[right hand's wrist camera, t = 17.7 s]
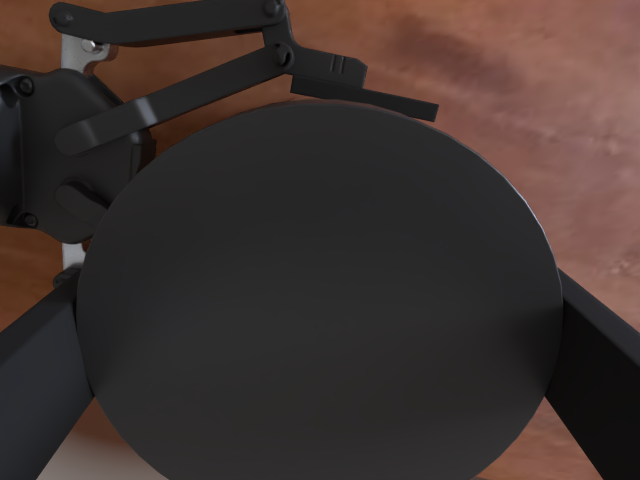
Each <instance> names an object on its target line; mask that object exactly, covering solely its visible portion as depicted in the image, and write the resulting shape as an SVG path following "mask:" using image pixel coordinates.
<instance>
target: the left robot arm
mask: <svg viewBox="0 0 640 480" xmlns="http://www.w3.org/2000/svg"><path fill="white" fill-rule="evenodd" d="M49 19H50V22H51V24H52V26H53V27H54V28H55V29H56V30H57V31H58V32H60V33H62V50H61V68H60V69H56V70H54V71H51V72H48V73H40V72H35V71H30V70H25V69H20V68H15V67H10V66H5V65H0V225H2V226H8V227H17V228H31V229H37V230H40V231H43V232H45V233H47V234H49V235H50V236H52V237H53V238H55V239H56V240H58V241H60V242H62V253H63V271H62V272H61V273H59V274H58V275H57V276H55V278H54V279H53V286H54V288H55V289H56V288H57V287H58V286H59V285H61V284H62V283H63V282H64V281H66V280H67V279H68V278H69V277H71V276H72V275H73V274H74V273H76V272H77V271H78V270H79V269H81V268H82V266H83V262H84V258H85V254H86V252H87V249H88V247H89V245H90V242H91V241H90V239H91V238H93V235H94V233H95V231H96V228H97V226H98V225H99V223H100V221H101V220H102V218H103V217H104V215H105V213H106V212H107V210H108V209H109V207H110V205H111V204H112V202H113V201H114V199H115V198H116V197H117V196H118V195H119V193H120V192H121V191H122V190H123V189H124V188H125V187H126V185H127V184H128V183H129V182H130V181H131V180H132V179H133V177H134V176H135V175H136V174H137V173H138V172H140V171H141V170H142V169H143V168H144V167H146V166H147V165H148V164H149V163H150V162H151V161H153V160H154V157H155V154H156V140H154V139H152V135H151V133H150V131H149V128H151V127H154V126H156V125H159V124H161V123H164V122H166V121H169V120H171V119H173V118H176V117H178V116H181V115H183V114H186V113H188V112H191V111H193V110H196V109H198V108H201V107H203V106H206V105H208V104H211V103H213V102H216V101H218V100H221V99H223V98H226V97H228V96H231V95H233V94H236V93H238V92H241V91H243V90H246V89H248V88H251V87H253V86H256V85H258V84H261V83H263V82H266V81H268V80H271V79H273V78H276V77H278V76H281V75H283V74H289V75H293V78H292V84H291V90H290V93H295V94H300V95H305V96H310V97H315V98H319V99H337V100H344V101H351V102H358V103H365V104H371V105H374V106H378V107H381V108H385V109H388V110H392V111H395V112H398V113H401V114H404V115H406V116H408V117H412V118H417V119H422V120H427V121H431V122H435V118H436V114H437V111H438V107H439V105H438V104H434V103H429V102H425V101H420V100H415V99H410V98H406V97H401V96H396V95H391V94H386V93H382V92H377V91H372V90H367V89H363V85H364V81H365V76H366V72H367V67H368V66H367V65H365V64H364V63H362V62H361V61H360V60H358V59H355V58H350V57H345V56H341V55H336V54H331V53H327V52H322V51H317V50H313V49H308V48H304V47H301V46H300V45H298V44H297V43H296V42H295V40H294V38H293V35H292V29H291V22H290V14H289V10H288V8H287V6H286V3H285V1H284V0H202V1H194V2H186V3H179V4H171V5H163V6H156V7H148V8H140V9H133V10H125V11H117V12H110V13H103V12H99V11H95V10H91V9H87V8H84V7H80V6H76V5H72V4H68V3H64V2H58V3H56V4H53V6H52V7H51V8H50V12H49ZM259 32H262V33H263V38H264V44H265V47H264V48H261V49H259V50H256V51H254V52H252V53H249V54H247V55H244V56H242V57H239V58H237V59H234V60H232V61H230V62H227V63H225V64H222V65H220V66H217V67H215V68H212V69H210V70H208V71H205V72H203V73H200V74H198V75H195V76H193V77H191V78H188V79H186V80H183V81H181V82H178V83H176V84H173V85H171V86H169V87H166V88H164V89H161V90H159V91H156V92H154V93H151V94H149V95H146V96H144V97H140V98H137V99H134V100H131V101H129V102H126V103H124V102H122V101H121V100H120V99H119V98H118V97H117V96H116V95H115V94H114V93H113V92H112V91H111V90H110V89H109V88H108V87H107V86H106V85H105V84H104V83H103V82H102V81H101V80H100V79H99V78H98V77H96V76H95V75H94V74H93V70H94V67H95V66H96V65H97V64H98V63H100V62H105V61H112V60H113V59H115V58H116V56H117V54H118V46H124V47H148V46H156V45H164V44H172V43H180V42H188V41H196V40H204V39H211V38H219V37H227V36H235V35H243V34H251V33H259Z"/></svg>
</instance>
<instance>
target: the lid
mask: <svg viewBox="0 0 640 480" xmlns="http://www.w3.org/2000/svg"><path fill="white" fill-rule="evenodd" d="M75 313H76V328H77V336H78V341H79V345H80V350H81V354H82V359H83V363H84V368H85V372H86V375H87V378H88V381H89V384H90V386H91V389H92V392H93V393H94V395H95V397H96V399H97V401H98V403H99V404H100V406H101V408H102V410H103V412H104V414H105V415H106V417H107V418H108V419H109V421H110V422H111V424H112V425H113V426H114V428H115V429H116V431H117V432H118V433H119V435H120V436H121V437H122V438H123V439H124V440H125V441H126V443H127V444H128V445H129V446H130V447H131V448H132V449H133V450H134V451H135V452H136V453H137V454H138V455H139V456H140V457H141V458H142V459H143V460H144V461H146V462H147V463H148V464H149V465H150V466H152V467H153V468H154V469H155V470H156V471H157V472H159V473H160V474H161V475H163V476H164V477H166V478H167V479H169V480H470V479H472V478H473V477H475V476H476V475H478V474H479V473H481V472H482V471H483V470H484V469H485V468H487V467H488V466H489V465H490V464H491V463H493V462H494V461H495V460H496V459H497V458H499V457H500V456H501V455H502V453H503V452H504V451H505V450H506V449H507V448H508V447H509V446H510V445H511V444H512V443H513V442H514V441H515V440H516V439H517V438H518V436H519V435H520V433H521V432H522V431H523V429H524V428H525V427H526V425H527V424H528V423H529V421H530V420H531V419H532V417H533V416H534V414H535V412H536V410H537V408H538V407H539V405H540V403H541V401H542V399H543V398H544V396H545V394H546V392H547V389H548V387H549V384H550V381H551V379H552V376H553V373H554V370H555V365H556V361H557V356H558V352H559V347H560V343H561V338H562V330H563V317H564V311H563V299H562V286H561V282H560V277H559V273H558V269H557V265H556V261H555V257H554V254H553V252H552V249H551V247H550V245H549V242H548V240H547V237H546V235H545V233H544V230H543V228H542V226H541V225H540V223H539V221H538V220H537V218H536V217H535V215H534V213H533V212H532V210H531V208H530V207H529V205H528V204H527V202H526V201H525V199H524V198H523V197H522V196H521V195H520V194H519V192H518V191H517V190H516V189H515V188H514V187H513V185H512V184H511V183H510V182H509V181H508V180H507V178H506V177H505V176H504V175H503V174H502V173H500V172H499V171H498V170H497V169H496V168H495V167H493V166H492V165H491V164H490V163H489V162H488V161H487V160H485V159H484V158H483V157H482V156H481V155H480V154H478V153H477V152H475V151H474V150H472V149H470V148H469V147H467V146H466V145H464V144H463V143H461V142H459V141H458V140H456V139H455V138H453V137H452V136H450V135H448V134H446V133H444V132H442V131H439V130H437V129H435V128H433V127H431V126H428V125H426V124H424V123H422V122H419V121H417V120H415V119H413V118H410V117H408V116H406V115H404V114H401V113H398V112H395V111H392V110H388V109H385V108H381V107H378V106H374V105H371V104H365V103H358V102H351V101H344V100H337V99H303V100H296V101H288V102H281V103H273V104H269V105H265V106H262V107H258V108H255V109H251V110H247V111H244V112H240V113H238V114H236V115H233V116H231V117H229V118H227V119H224V120H222V121H220V122H217V123H215V124H213V125H211V126H208V127H206V128H204V129H201V130H199V131H197V132H195V133H193V134H191V135H189V136H188V137H186V138H184V139H183V140H181V141H180V142H178V143H176V144H175V145H173V146H172V147H170V148H168V149H167V150H165V151H164V152H162V153H161V154H160V155H159V156H157V157H156V158H155V159H154V160H153V161H151V162H150V163H149V164H148V165H147V166H146V167H144V168H143V169H142V170H141V171H140V172H138V173H137V174H136V175H135V176H134V177H133V179H132V180H131V181H130V182H129V183H128V184H127V185H126V187H125V188H124V189H123V190H122V191H121V192H120V193H119V195H118V196H117V197H116V198H115V199H114V201H113V202H112V204H111V205H110V207H109V209H108V210H107V212H106V213H105V215H104V217H103V218H102V220H101V221H100V223H99V225H98V226H97V228H96V231H95V233H94V235H93V238H92V240H91V242H90V245H89V247H88V249H87V252H86V254H85V258H84V262H83V266H82V270H81V274H80V277H79V281H78V289H77V300H76V312H75Z"/></svg>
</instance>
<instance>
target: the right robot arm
mask: <svg viewBox="0 0 640 480" xmlns="http://www.w3.org/2000/svg"><path fill="white" fill-rule="evenodd" d="M557 269H558V273H559V277H560V282H561V286H562V299H563V311H564V317H563V330H562V338H561V343H560V347H559V352H558V356H557V361H556V365H555V370H554V373H553V376H552V379H551V381H550V384H549V387H548V389H547V392H546V394H545V397H546V399H547V400H548V402H549V403H550V404H551V406H552V407H553V409H554V410H555V411H556V413H557V414H558V416H559V417H560V419H561V420H562V421H563V423H564V424H565V426H566V427H567V429H568V430H569V431H570V433H571V434H572V436H573V437H574V438H575V440H576V441H577V443H578V444H579V446H580V447H581V448H582V450H583V451H584V453H585V454H586V456H587V457H588V458H589V460H590V461H591V463H592V464H593V465H594V467H595V468H596V470H597V471H598V473H599V474H600V475H601V477H602V478H603V480H640V333H639V332H638V331H636V330H635V329H634V328H633V327H631V326H630V325H629V324H628V323H626V322H625V321H624V320H623V319H621V318H620V317H619V316H618V315H616V314H615V313H614V312H613V311H611V310H610V309H609V308H608V307H606V306H605V305H604V304H603V303H601V302H600V301H599V300H598V299H596V298H595V297H594V296H593V295H591V294H590V293H589V292H588V291H586V290H585V289H584V288H583V287H581V286H580V285H579V284H578V283H576V282H575V281H574V280H573V279H571V278H570V277H569V276H568V275H566V274H565V273H564V272H563V271H561V270H560V269H559V268H558V267H557ZM81 270H82V268H81V269H79V270H78V271H77V272H76V273H74V274H73V275H72V276H71V277H69V278H68V279H67V280H66V281H64V282H63V283H62V284H61V285H59V286H58V287H57V288H56V289H54V290H53V291H52V292H51V293H49V294H48V295H47V296H46V297H44V298H43V299H42V300H41V301H39V302H38V303H37V304H36V305H34V306H33V307H32V308H31V309H29V310H28V311H27V312H26V313H24V314H23V315H22V316H21V317H19V318H18V319H17V320H16V321H14V322H13V323H12V324H11V325H9V326H8V327H7V328H6V329H4V330H3V331H2V332H1V333H0V480H36V479H37V478H38V476H39V475H40V473H41V472H42V470H43V469H44V468H45V466H46V465H47V463H48V462H49V460H50V459H51V458H52V456H53V455H54V453H55V452H56V451H57V449H58V448H59V446H60V445H61V443H62V442H63V441H64V439H65V438H66V436H67V435H68V434H69V432H70V431H71V429H72V428H73V426H74V425H75V424H76V422H77V421H78V419H79V418H80V416H81V415H82V414H83V412H84V411H85V409H86V408H87V407H88V405H89V404H90V402H91V401H92V399H93V398H94V397H95V395H94V393H93V392H92V389H91V386H90V384H89V381H88V378H87V375H86V372H85V368H84V363H83V359H82V354H81V350H80V345H79V341H78V336H77V328H76V313H75V312H76V300H77V289H78V281H79V277H80V274H81Z"/></svg>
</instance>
